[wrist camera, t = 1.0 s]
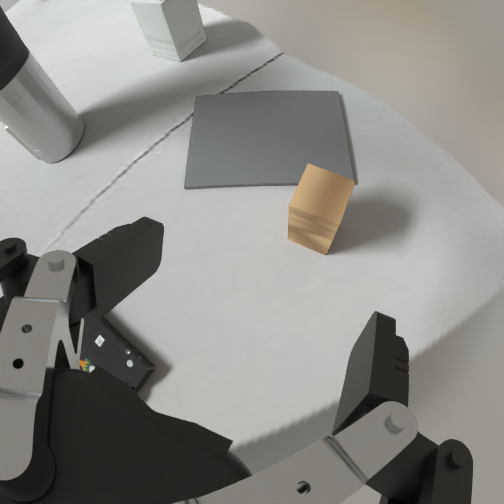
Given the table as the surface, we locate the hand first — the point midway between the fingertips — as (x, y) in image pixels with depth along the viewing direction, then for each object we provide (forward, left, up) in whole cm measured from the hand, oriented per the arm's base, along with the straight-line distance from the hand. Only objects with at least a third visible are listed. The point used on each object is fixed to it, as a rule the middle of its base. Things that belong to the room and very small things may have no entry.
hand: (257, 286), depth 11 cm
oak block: (+5, +10, -23) cm, 26 cm away
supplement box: (-15, +45, -23) cm, 53 cm away
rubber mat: (0, +23, -23) cm, 33 cm away
